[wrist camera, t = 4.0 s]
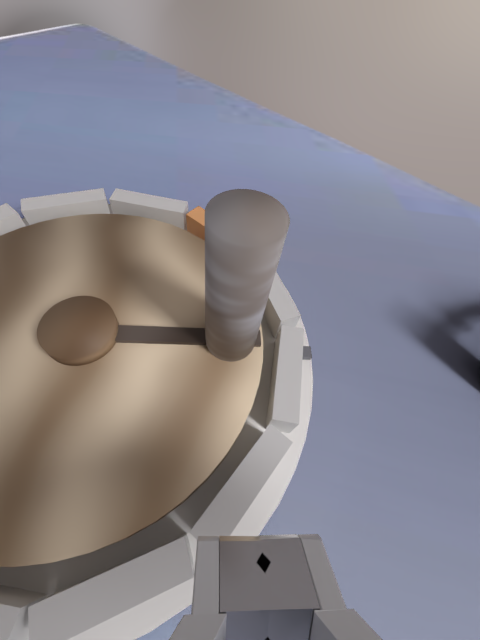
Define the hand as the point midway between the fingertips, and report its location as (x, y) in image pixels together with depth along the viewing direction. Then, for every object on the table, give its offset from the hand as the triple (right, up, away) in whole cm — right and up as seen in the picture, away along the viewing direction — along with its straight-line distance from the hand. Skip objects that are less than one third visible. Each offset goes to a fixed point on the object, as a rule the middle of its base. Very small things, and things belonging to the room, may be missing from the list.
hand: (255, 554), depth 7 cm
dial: (-10, +4, +11) cm, 15 cm away
